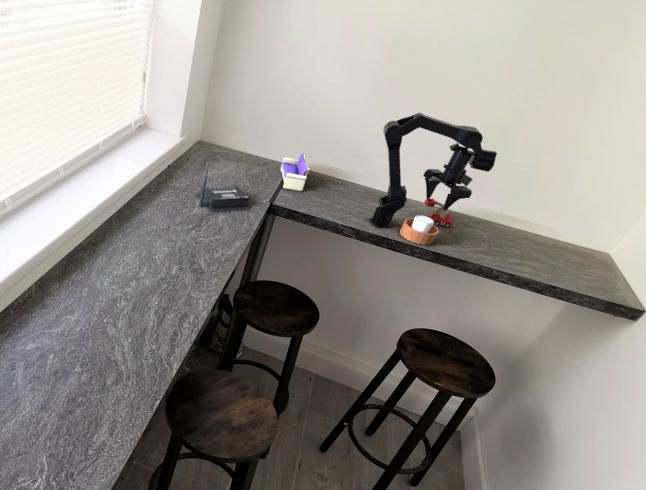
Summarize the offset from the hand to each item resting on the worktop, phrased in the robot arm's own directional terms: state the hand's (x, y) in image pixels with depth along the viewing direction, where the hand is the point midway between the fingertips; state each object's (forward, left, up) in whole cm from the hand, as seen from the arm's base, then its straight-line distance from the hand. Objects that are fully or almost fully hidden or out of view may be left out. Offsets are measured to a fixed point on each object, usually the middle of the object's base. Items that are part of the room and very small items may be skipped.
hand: (435, 204), depth 183 cm
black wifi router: (-76, +25, -13) cm, 81 cm away
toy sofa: (-35, +46, -13) cm, 59 cm away
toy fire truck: (+12, +8, -13) cm, 19 cm away
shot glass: (-4, -2, -12) cm, 13 cm away
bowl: (-4, -2, -12) cm, 13 cm away
